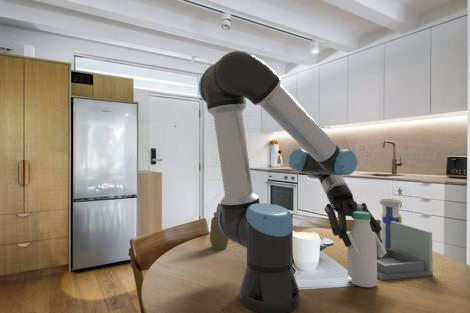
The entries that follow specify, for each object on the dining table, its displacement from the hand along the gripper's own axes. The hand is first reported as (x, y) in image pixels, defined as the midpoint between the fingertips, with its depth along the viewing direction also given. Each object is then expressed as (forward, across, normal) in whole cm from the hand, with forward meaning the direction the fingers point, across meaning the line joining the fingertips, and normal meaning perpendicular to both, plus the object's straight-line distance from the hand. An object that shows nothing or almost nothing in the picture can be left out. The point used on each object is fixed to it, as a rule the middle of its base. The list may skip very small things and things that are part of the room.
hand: (370, 255), depth 75 cm
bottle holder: (-2, -16, -15) cm, 22 cm away
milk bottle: (+4, 0, -9) cm, 10 cm away
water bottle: (-15, -33, -28) cm, 46 cm away
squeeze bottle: (-25, +36, -38) cm, 58 cm away
